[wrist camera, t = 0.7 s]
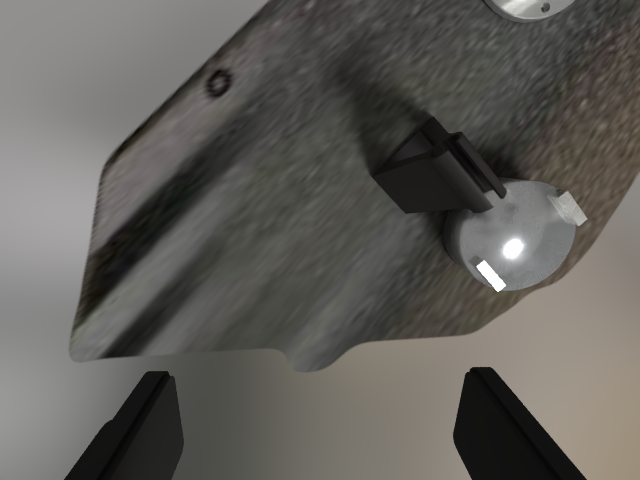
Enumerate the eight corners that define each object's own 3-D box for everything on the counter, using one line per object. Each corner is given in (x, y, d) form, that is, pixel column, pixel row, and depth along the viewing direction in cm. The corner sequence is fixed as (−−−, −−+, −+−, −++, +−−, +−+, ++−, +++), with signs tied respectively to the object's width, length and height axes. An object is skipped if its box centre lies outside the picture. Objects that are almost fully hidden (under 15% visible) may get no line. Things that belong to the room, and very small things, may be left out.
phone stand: (432, 117, 33) (503, 98, 21) (464, 157, 34) (547, 161, 23) (370, 176, 34) (406, 189, 23) (404, 213, 35) (453, 242, 24)
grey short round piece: (504, 154, 34) (550, 155, 28) (558, 227, 37) (610, 242, 31) (423, 227, 36) (449, 243, 30) (480, 290, 39) (514, 317, 33)
